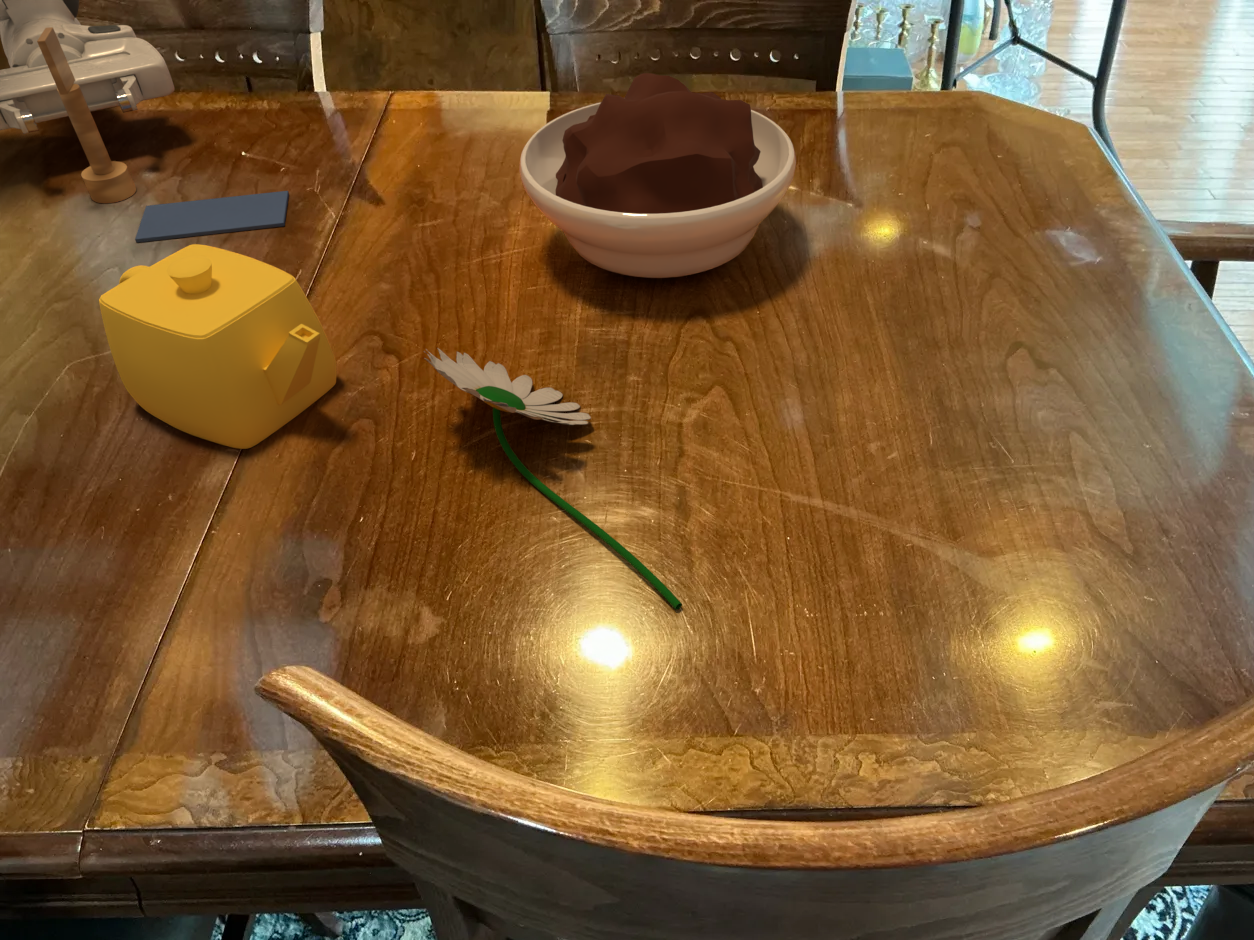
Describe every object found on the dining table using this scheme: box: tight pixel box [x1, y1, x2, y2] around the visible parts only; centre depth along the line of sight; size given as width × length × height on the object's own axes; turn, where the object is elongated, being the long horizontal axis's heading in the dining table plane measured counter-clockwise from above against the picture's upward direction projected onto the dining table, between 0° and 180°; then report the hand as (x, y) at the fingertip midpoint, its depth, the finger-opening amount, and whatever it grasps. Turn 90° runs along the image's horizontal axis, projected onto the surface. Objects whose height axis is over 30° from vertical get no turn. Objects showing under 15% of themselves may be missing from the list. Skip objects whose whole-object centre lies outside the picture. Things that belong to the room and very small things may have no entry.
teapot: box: [98, 243, 338, 450], centre depth 83 cm, size 20×12×12 cm, turn 61°
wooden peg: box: [37, 27, 137, 204], centre depth 107 cm, size 4×4×16 cm
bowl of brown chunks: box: [518, 72, 797, 279], centre depth 98 cm, size 25×25×15 cm
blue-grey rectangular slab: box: [134, 190, 290, 243], centre depth 108 cm, size 14×7×1 cm, turn 102°
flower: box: [423, 347, 683, 611], centre depth 77 cm, size 13×6×30 cm
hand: (78, 114), depth 109 cm, fingers open, 8 cm apart
